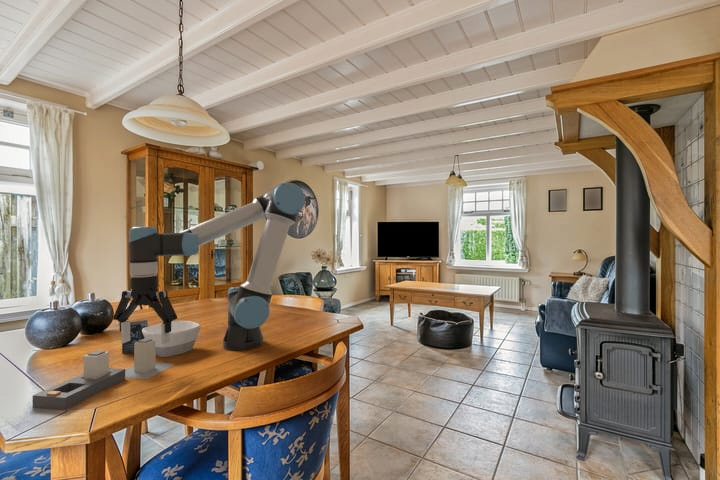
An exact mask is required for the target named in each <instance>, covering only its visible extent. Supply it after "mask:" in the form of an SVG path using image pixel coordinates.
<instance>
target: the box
mask: <svg viewBox="0 0 720 480" xmlns="http://www.w3.org/2000/svg"><path fill="white" fill-rule="evenodd" d="M148 326H149V324H148V320H147V319H146V320H145V319H144V320H139V321H137V320H136V321H130V341H128V342H125V343H122V342H121V344H122V345H121V348H122V350H121V353H122V354H128V353H134V343H136V342H138V341H139V340H142V339H145V338H144V335H143V333H142V329H143V328H145V327H148Z"/></svg>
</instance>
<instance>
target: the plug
mask: <svg viewBox="0 0 720 480" xmlns="http://www.w3.org/2000/svg"><path fill="white" fill-rule="evenodd" d="M109 368H110V351H106V350H95V351H91V352H89V353H87V354H85V355H83V374H84V379H99V378H101V377H103V376H105V375H107V374H109Z"/></svg>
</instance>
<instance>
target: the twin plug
mask: <svg viewBox="0 0 720 480" xmlns="http://www.w3.org/2000/svg"><path fill="white" fill-rule="evenodd" d="M133 353H134V354H133V355H134V356H133V358H134V359H133V366H134V372H143V373H146V372H148V371H150V370H152V369H154V368H155V363H156V356H155V340H152V339H142V340H139V341H138V342H136V343H134V352H133Z"/></svg>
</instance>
